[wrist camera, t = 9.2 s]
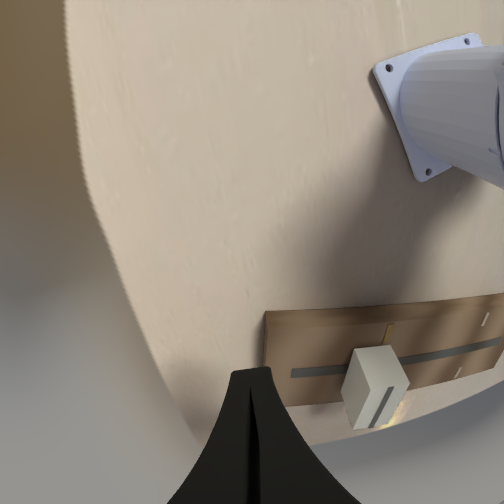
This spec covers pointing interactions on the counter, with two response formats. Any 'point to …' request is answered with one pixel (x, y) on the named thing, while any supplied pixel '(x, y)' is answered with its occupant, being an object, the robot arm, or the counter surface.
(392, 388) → the fader knob
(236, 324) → the counter surface
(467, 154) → the robot arm
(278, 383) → the fader board
